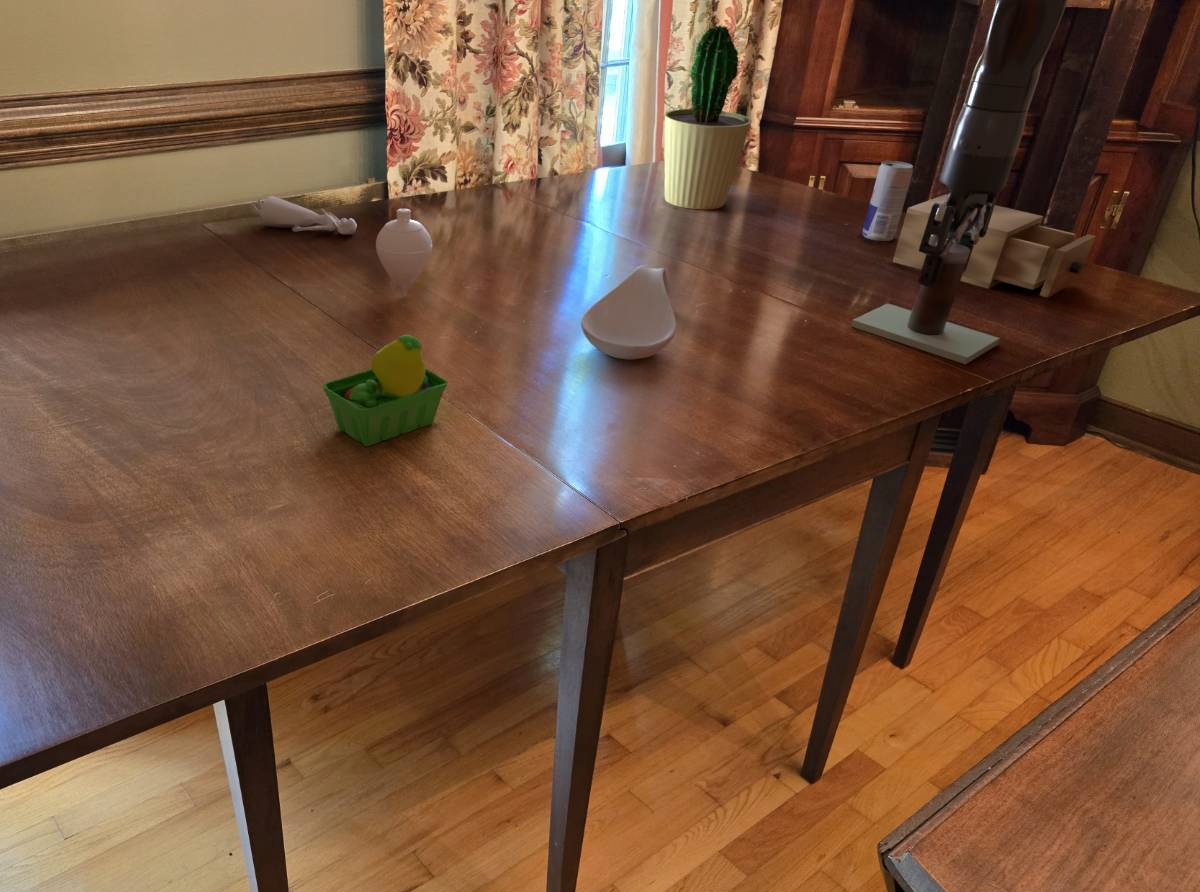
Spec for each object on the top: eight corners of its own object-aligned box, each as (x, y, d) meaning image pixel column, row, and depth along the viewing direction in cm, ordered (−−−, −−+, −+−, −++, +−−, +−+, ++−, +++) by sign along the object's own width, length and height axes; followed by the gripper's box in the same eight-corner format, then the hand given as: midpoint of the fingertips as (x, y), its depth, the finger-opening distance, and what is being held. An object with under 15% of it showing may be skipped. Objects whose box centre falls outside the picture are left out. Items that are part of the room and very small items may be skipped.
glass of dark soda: (949, 329, 129) (976, 248, 123) (933, 338, 126) (960, 255, 120) (916, 319, 132) (941, 239, 125) (900, 327, 129) (925, 246, 123)
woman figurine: (270, 185, 162) (369, 204, 159) (271, 211, 165) (369, 231, 162) (237, 203, 153) (342, 224, 150) (238, 230, 155) (341, 252, 152)
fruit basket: (406, 399, 108) (406, 302, 102) (457, 428, 103) (460, 329, 96) (321, 428, 102) (315, 327, 95) (371, 461, 96) (367, 357, 90)
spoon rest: (663, 377, 115) (672, 321, 111) (568, 362, 118) (573, 306, 114) (690, 310, 134) (699, 259, 130) (608, 298, 137) (614, 248, 133)
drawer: (1086, 282, 147) (1104, 237, 143) (1056, 300, 140) (1074, 254, 136) (985, 255, 157) (999, 213, 153) (951, 271, 149) (965, 227, 145)
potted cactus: (735, 216, 173) (770, 29, 156) (650, 207, 176) (674, 23, 159) (737, 194, 186) (769, 19, 168) (657, 186, 188) (680, 13, 171)
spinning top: (366, 300, 133) (364, 212, 126) (393, 283, 138) (392, 198, 132) (415, 310, 130) (415, 221, 123) (441, 293, 136) (442, 207, 129)
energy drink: (872, 230, 169) (891, 159, 162) (900, 238, 166) (920, 165, 159) (855, 235, 166) (874, 163, 159) (883, 243, 163) (903, 170, 156)
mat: (997, 345, 128) (1000, 338, 127) (965, 364, 122) (967, 357, 121) (885, 309, 137) (887, 303, 136) (850, 326, 131) (852, 319, 131)
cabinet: (1023, 270, 154) (1043, 216, 149) (988, 289, 146) (1008, 232, 141) (930, 245, 163) (946, 193, 158) (892, 261, 155) (907, 207, 150)
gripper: (989, 161, 109) (944, 299, 119) (1037, 145, 118) (993, 275, 127) (926, 148, 114) (888, 282, 123) (977, 133, 122) (938, 260, 131)
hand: (941, 278), depth 125 cm, fingers open, 8 cm apart
